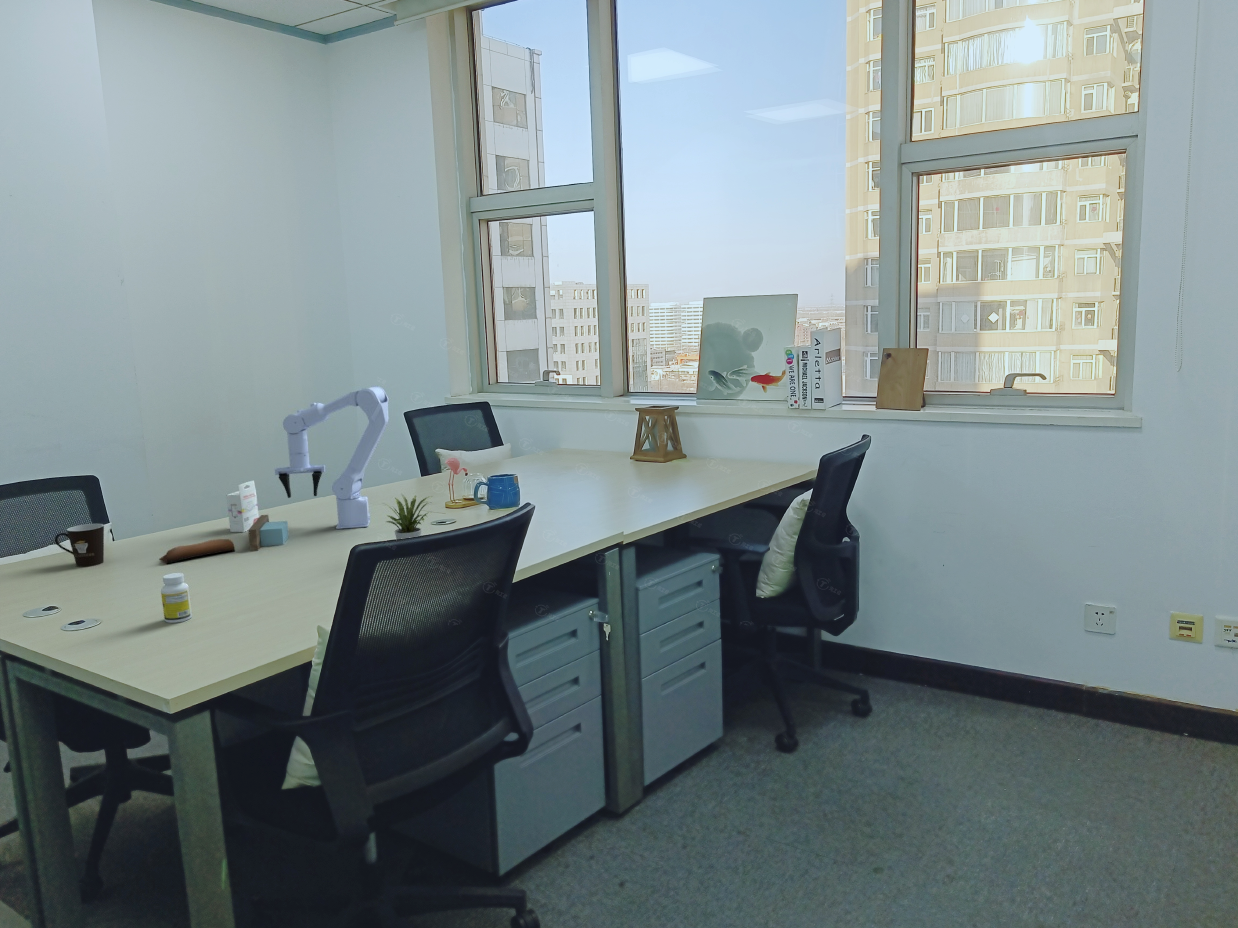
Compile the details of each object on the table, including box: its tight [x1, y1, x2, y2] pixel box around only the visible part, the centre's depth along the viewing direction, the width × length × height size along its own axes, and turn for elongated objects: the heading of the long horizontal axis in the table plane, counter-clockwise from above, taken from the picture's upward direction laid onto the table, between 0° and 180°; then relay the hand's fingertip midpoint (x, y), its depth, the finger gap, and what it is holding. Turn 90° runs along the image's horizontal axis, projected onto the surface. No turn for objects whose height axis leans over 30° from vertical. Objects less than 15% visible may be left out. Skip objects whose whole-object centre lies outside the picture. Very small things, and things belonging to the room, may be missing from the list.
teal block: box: [260, 520, 290, 547], centre depth 266 cm, size 6×10×5 cm, turn 11°
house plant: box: [382, 493, 433, 540], centre depth 248 cm, size 14×14×16 cm
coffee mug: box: [54, 523, 105, 568], centre depth 247 cm, size 12×9×10 cm
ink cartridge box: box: [225, 480, 260, 533], centre depth 283 cm, size 9×5×15 cm, turn 168°
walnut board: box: [247, 514, 270, 552], centre depth 266 cm, size 2×20×6 cm, turn 11°
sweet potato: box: [159, 538, 235, 565], centre depth 252 cm, size 18×7×7 cm
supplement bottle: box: [160, 572, 193, 624], centre depth 198 cm, size 5×5×10 cm
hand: (302, 496), depth 284 cm, fingers open, 7 cm apart
